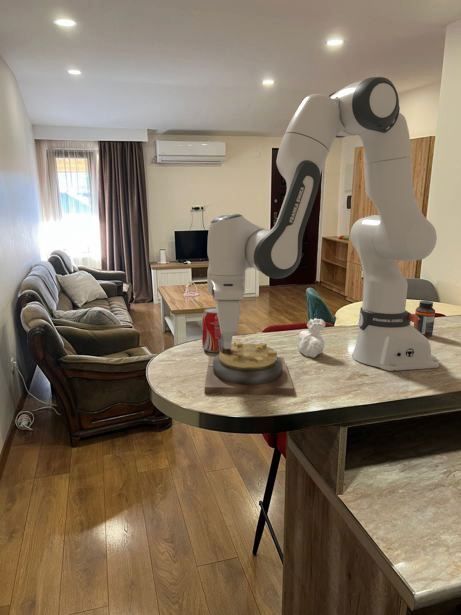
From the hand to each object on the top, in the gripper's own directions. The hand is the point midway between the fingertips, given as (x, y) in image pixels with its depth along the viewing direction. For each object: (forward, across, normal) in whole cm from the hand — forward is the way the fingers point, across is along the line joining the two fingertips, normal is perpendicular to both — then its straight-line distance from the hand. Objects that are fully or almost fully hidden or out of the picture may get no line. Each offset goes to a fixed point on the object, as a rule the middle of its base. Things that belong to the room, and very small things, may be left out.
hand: (225, 341), depth 106 cm
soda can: (+9, -21, -2) cm, 23 cm away
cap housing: (+9, 0, +5) cm, 11 cm away
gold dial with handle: (+5, 0, +5) cm, 7 cm away
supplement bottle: (+10, -32, +67) cm, 75 cm away
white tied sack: (+10, -16, +26) cm, 32 cm away
